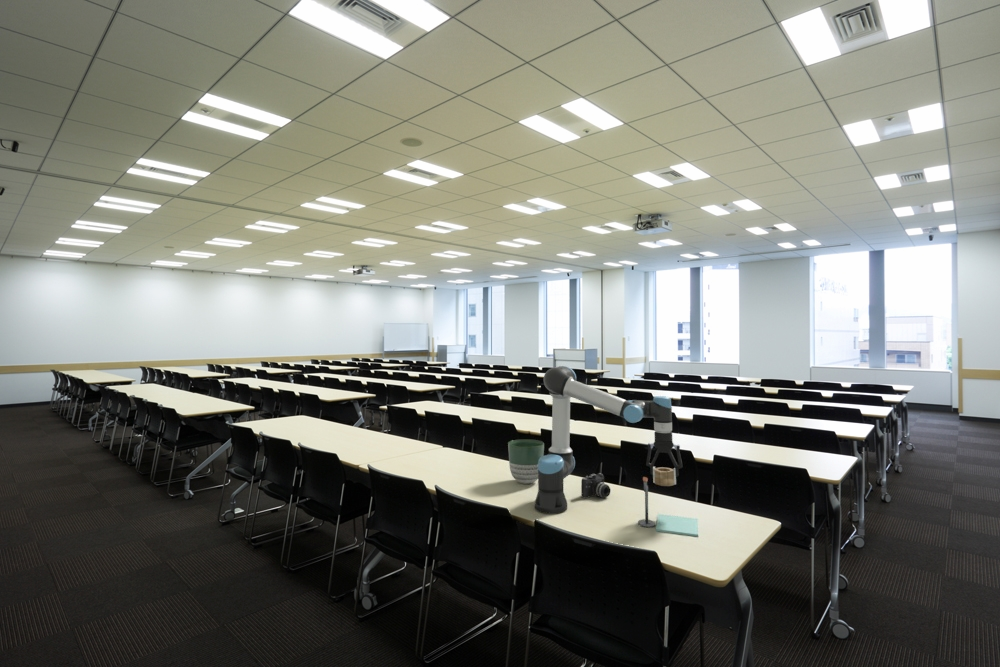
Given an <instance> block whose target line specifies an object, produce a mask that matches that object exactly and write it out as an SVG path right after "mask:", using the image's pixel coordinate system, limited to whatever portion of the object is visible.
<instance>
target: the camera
mask: <svg viewBox="0 0 1000 667" xmlns="http://www.w3.org/2000/svg"><path fill="white" fill-rule="evenodd" d="M580 489H581V492H580V493H581V495H580V496H581V497H582V498H583V499H587V498H591V497H593V496H598V497H600V498H607V497H609V496H610V495H611V487H610V486H609V484H607V483H605V475H604V474H603V473H601V472H598V473H597V474H595V473H592V474H589V476H588V475H586V476H585V477H582V478H581V488H580Z"/></svg>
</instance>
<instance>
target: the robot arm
mask: <svg viewBox="0 0 1000 667" xmlns="http://www.w3.org/2000/svg"><path fill="white" fill-rule="evenodd" d="M543 384H544V386H545V388H546V389H547V390H548V392H549V395H550V396H551V398H552V402H551V403H552V406H551V407H552V409H551V410H552V415H551V416H552V417H551V418H552V419H551V420H552V421H551V428H552V429H551V446H550V447H549V448H548V454H546V455H544V456H542V457H541V458H540V459H539V461H538V479H537V482H538V484H537V485H538V487H537V488H538V489H537V492H536V493H537V494H536V497H535V501H534V509H535V511H537V512H539V513H544V514H562V513H565V512H567V510H568V502H567V499H566V495H565V493H564V480H565V478H567V477H568V476H570V475H571V474H572V473H573V471H574V469H575V466H576V460H575V457H574V456H573V449H572V448H571V447H570V441H571V440H570V438H571V437H570V435H571V432H570V431H571V430H570V428H571V426H570V424H571V398H573V399H576V400H578V401H581V402H584V403H586V404H588V405H591V406H593V407H596V408H599V409H600V410H603V411H606V412H609V413H611V414H612V415H616V416H618V417H621V418H623V419H625V421H627V422H628V423H632V424H635V423H637V422H640V421H641V420H642V419H643V418H653V429H654V442H652V443H650V442H648V443H647V455H646V456H647V457H646V462H645V466H646V467H649V469H650V472H649V473H650V475H652V479H653V480H652V481H653V483H654V484H655V468H656V466H654V465H655V463H656V462H657V459H658V457H659V455H660V453H661V454H662V453H663V454H664V453H665V454H667V455H668V456H669V458H670V460H671V462H672V464H673V466H674V468H673V469H674V486H675V485H677V477H679V475H680V474H679V469H683V461H682V457H681V453H680V452H681V451H680V449H681V448H680V447H681V446H680V444H674V442H673V432H672V431H673V418H672V417H673V416H672V415H673V414H672V413H673V411H672V410H673V407H672V399H671V397H670V396H664V395H663V396H661V395H658V396H654V397H653V399H652V400H639V399H638V400H637V399H632V400H630V399H628V400H626V399H624V398H622V397H619V396H617V395H614V394H610V393H609V392H607V391H603V390H600V389H598V388H596V387H593V386H590V385H588V384H585V383H583V382H580V381H577V374H576V373H575V371H574V370H573V369H572V368H571V367H568V366H565V365H562V366H561V365H560V366H556V367H552V368H549V369H548V370H547V371H546V372H545V373H544V375H543ZM653 448H655V449H656V451H655V454H654V457H653V458H652V461H651V460H650V459H651V454H652V449H653ZM673 448H674V450H676V456H677V461H676V459H675V457H674V455H673V453H672V449H673ZM650 461H651V463H650Z"/></svg>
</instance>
